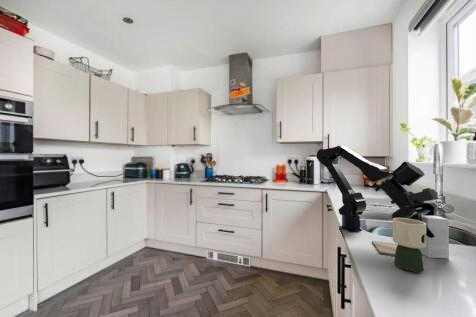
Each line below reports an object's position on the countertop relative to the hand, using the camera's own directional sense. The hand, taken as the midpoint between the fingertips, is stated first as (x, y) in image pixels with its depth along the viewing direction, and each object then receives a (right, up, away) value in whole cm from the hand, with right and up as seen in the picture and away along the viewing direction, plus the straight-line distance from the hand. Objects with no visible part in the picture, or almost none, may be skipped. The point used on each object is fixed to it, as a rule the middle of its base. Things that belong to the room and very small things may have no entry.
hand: (438, 235), depth 64 cm
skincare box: (-1, -7, +1) cm, 7 cm away
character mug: (-15, -6, -7) cm, 18 cm away
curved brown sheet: (-12, -6, +5) cm, 14 cm away
